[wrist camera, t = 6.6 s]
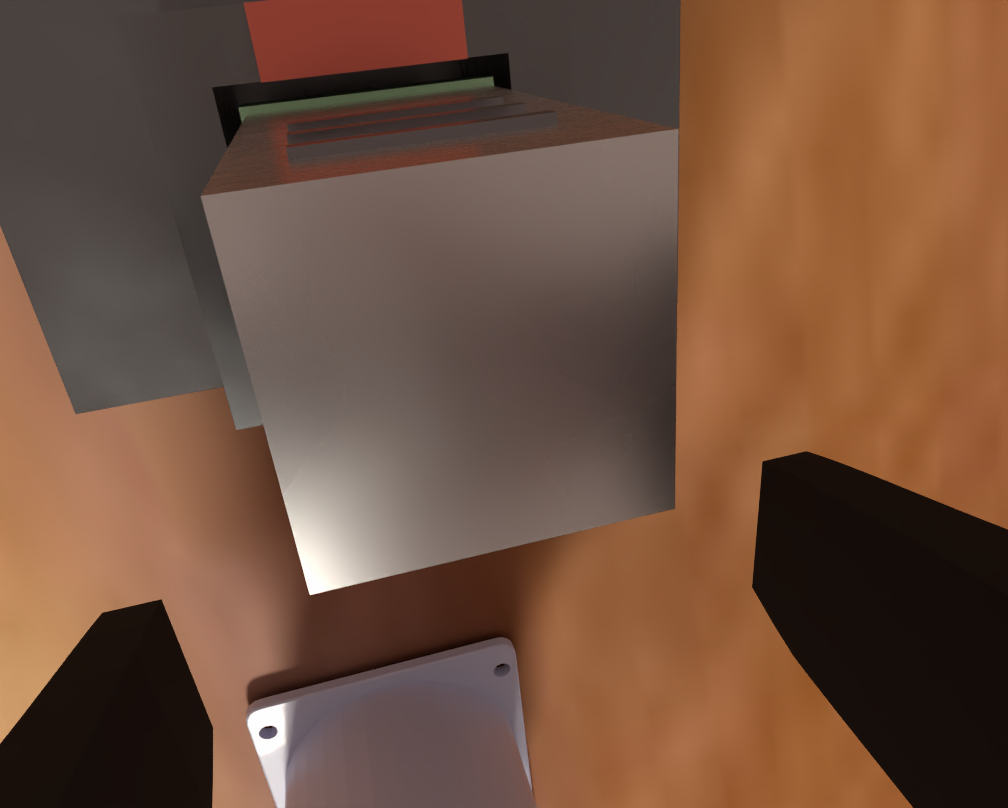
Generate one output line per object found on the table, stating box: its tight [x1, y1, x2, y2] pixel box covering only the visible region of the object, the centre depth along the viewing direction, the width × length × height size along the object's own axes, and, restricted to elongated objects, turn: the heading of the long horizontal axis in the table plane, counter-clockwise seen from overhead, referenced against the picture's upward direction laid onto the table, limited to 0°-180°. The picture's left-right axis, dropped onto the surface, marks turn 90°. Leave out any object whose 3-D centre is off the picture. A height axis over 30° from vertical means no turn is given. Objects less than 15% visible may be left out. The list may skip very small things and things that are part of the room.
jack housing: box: [0, 0, 680, 430], centre depth 14 cm, size 8×14×5 cm, turn 96°
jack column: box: [201, 75, 679, 595], centre depth 10 cm, size 4×4×8 cm
